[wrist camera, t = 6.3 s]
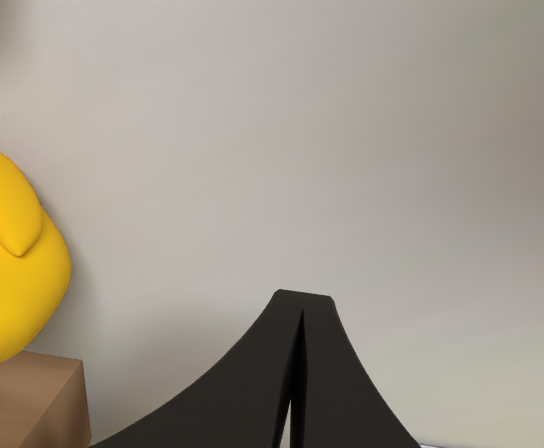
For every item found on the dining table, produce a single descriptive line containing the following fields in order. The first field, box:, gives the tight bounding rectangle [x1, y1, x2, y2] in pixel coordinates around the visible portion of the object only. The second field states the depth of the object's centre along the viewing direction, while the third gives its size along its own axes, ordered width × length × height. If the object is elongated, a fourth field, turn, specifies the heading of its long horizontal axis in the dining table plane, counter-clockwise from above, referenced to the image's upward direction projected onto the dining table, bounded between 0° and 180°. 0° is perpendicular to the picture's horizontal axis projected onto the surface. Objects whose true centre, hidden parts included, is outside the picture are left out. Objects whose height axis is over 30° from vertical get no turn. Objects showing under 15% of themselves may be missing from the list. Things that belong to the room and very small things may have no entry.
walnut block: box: [0, 351, 91, 448], centre depth 20 cm, size 5×5×5 cm
